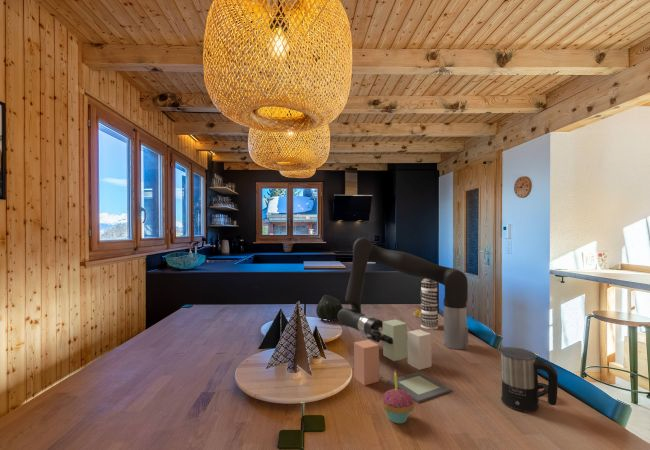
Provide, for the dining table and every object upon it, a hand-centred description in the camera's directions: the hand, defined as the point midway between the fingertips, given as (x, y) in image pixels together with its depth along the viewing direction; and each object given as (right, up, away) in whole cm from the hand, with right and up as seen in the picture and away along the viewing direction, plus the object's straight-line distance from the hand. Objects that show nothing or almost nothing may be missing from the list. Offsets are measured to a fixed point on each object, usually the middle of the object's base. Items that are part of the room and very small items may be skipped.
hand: (399, 339), depth 109 cm
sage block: (-1, -7, +2) cm, 7 cm away
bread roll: (+31, -14, +73) cm, 80 cm away
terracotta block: (-12, -12, -4) cm, 17 cm away
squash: (-24, -14, +67) cm, 73 cm away
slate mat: (+4, -12, -9) cm, 15 cm away
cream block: (+9, -12, +7) cm, 17 cm away
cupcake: (-6, -12, -26) cm, 29 cm away
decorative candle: (+29, -13, +54) cm, 62 cm away
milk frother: (+34, -12, -17) cm, 39 cm away
